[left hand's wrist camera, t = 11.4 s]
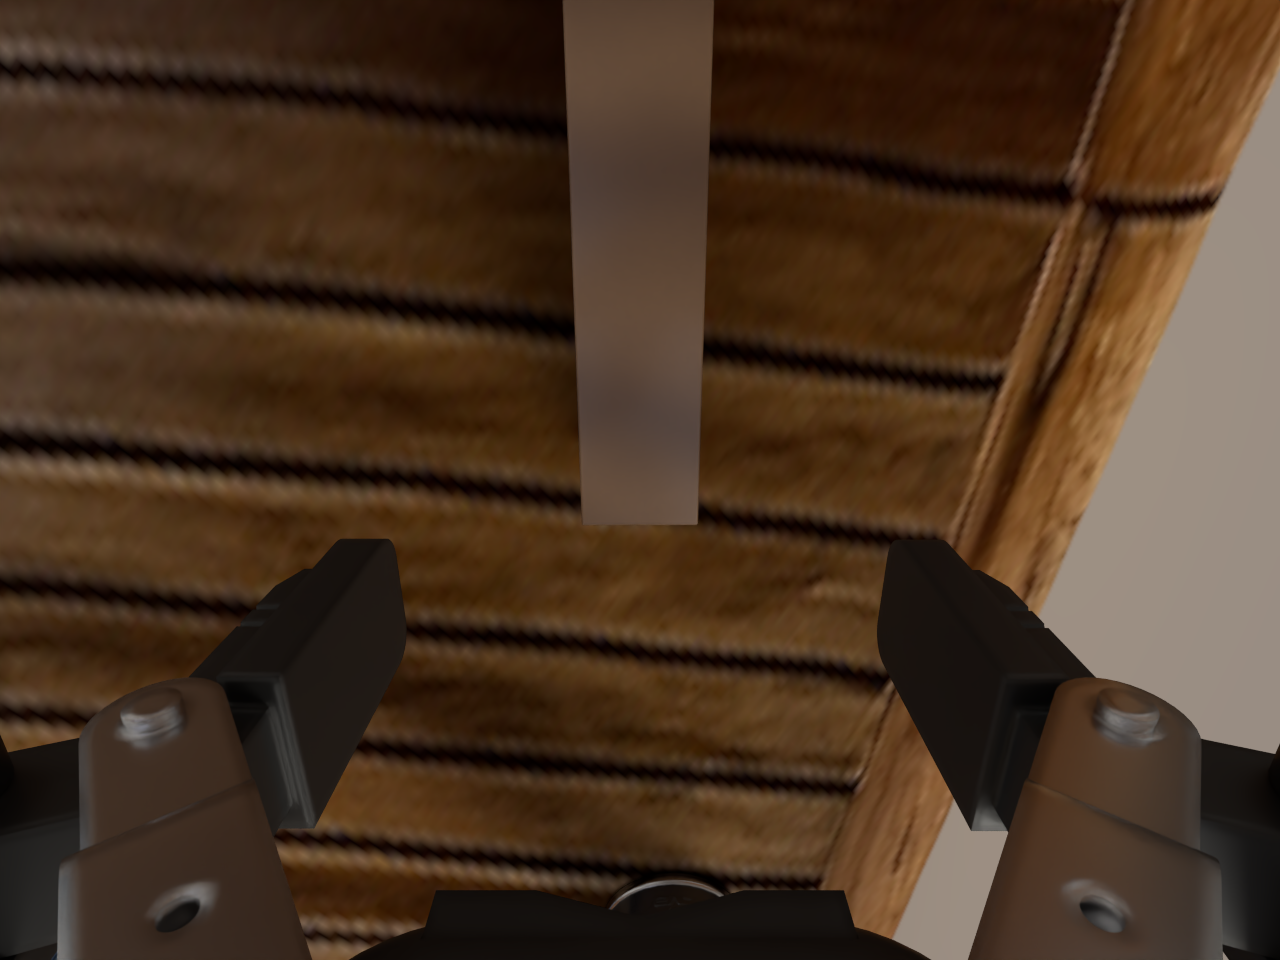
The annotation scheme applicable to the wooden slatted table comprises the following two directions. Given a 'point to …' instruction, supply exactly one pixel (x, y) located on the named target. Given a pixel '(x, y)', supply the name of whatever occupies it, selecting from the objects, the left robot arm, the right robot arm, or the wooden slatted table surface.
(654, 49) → the beam
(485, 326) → the wooden slatted table surface
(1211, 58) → the wooden slatted table surface
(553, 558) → the wooden slatted table surface
